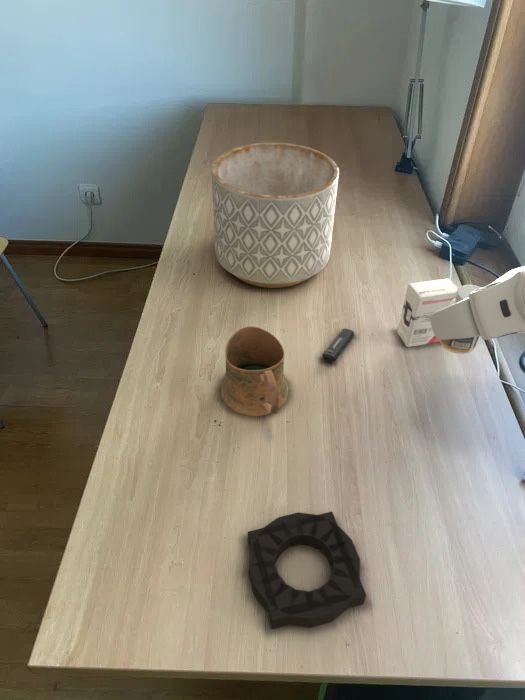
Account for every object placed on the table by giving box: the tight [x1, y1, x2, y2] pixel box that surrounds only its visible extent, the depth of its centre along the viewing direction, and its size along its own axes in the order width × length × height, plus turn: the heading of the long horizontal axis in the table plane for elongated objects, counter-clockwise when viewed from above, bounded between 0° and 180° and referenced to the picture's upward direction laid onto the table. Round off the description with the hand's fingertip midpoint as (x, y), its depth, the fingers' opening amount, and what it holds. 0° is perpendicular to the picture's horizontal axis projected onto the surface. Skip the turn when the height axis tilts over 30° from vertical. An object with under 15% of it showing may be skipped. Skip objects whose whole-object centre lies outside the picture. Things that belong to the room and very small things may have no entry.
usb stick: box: [321, 328, 355, 363], centre depth 106 cm, size 10×3×2 cm, turn 148°
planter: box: [211, 142, 340, 289], centre depth 120 cm, size 26×26×22 cm
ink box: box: [396, 277, 459, 348], centre depth 105 cm, size 8×5×12 cm, turn 104°
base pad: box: [247, 511, 367, 630], centre depth 73 cm, size 14×14×2 cm
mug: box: [220, 325, 289, 417], centre depth 91 cm, size 12×18×12 cm, turn 15°
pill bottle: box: [439, 284, 482, 355], centre depth 86 cm, size 6×6×10 cm
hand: (462, 315), depth 86 cm, fingers closed on pill bottle, 6 cm apart
